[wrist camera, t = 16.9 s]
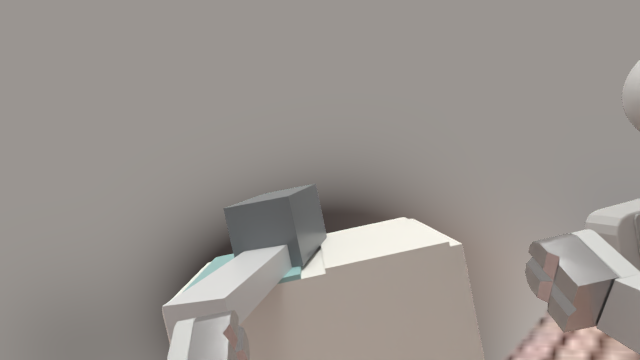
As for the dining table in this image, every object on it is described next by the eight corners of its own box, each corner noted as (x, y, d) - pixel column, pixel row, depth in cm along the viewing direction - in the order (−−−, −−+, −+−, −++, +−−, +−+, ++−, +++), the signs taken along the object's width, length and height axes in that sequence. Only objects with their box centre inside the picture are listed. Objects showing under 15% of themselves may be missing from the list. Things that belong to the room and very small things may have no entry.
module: (248, 331, 21) (225, 224, 21) (155, 341, 22) (131, 241, 22) (326, 237, 42) (315, 183, 42) (275, 245, 43) (264, 193, 43)
